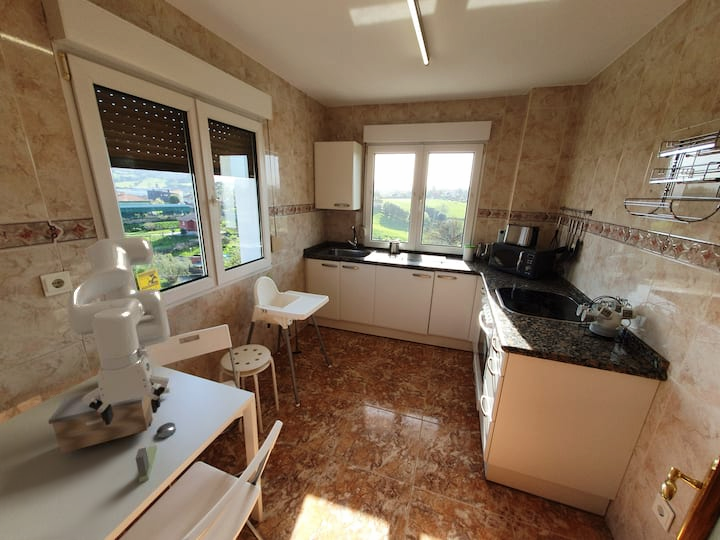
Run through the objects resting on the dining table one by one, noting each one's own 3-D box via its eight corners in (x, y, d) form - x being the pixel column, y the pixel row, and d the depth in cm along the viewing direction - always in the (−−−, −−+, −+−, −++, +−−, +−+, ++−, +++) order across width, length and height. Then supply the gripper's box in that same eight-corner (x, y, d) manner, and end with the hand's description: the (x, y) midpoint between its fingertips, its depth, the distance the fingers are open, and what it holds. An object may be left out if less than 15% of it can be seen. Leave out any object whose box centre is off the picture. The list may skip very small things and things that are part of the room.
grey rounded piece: (177, 424, 94) (176, 420, 94) (174, 436, 90) (173, 432, 90) (159, 428, 93) (158, 425, 92) (155, 441, 88) (154, 437, 88)
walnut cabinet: (155, 418, 97) (148, 380, 93) (149, 440, 88) (141, 399, 84) (76, 438, 88) (65, 398, 84) (61, 465, 80) (47, 421, 76)
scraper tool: (156, 449, 85) (152, 427, 83) (148, 479, 76) (143, 455, 74) (148, 451, 85) (144, 429, 83) (139, 482, 75) (134, 458, 73)
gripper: (166, 343, 75) (174, 396, 80) (81, 357, 68) (96, 415, 72) (160, 358, 69) (170, 415, 73) (66, 375, 61) (83, 437, 66)
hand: (133, 415), depth 73 cm, fingers open, 9 cm apart
